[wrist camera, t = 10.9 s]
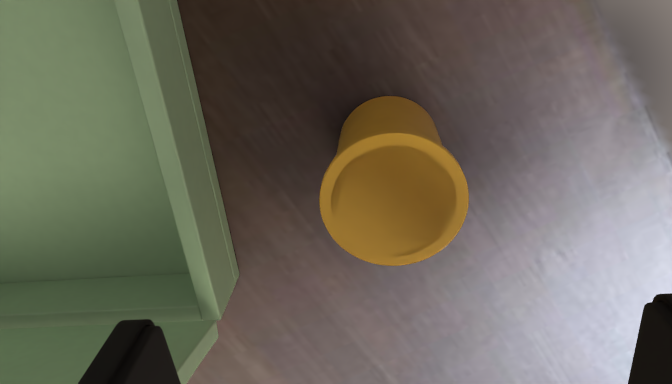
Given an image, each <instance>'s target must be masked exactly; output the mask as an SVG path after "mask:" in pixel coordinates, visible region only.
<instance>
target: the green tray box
mask: <svg viewBox="0 0 672 384" xmlns="http://www.w3.org/2000/svg"><path fill="white" fill-rule="evenodd" d="M238 277H239V270H238V266H237V261H236V257H235V253H234V248H233V244H232V240H231V235H230V231H229V226H228V222H227V218H226V213H225V209H224V205H223V200H222V196H221V191H220V187H219V183H218V178H217V174H216V170H215V165H214V161H213V156H212V152H211V148H210V143H209V139H208V135H207V130H206V126H205V121H204V117H203V113H202V108H201V104H200V100H199V95H198V91H197V86H196V82H195V78H194V73H193V69H192V65H191V60H190V56H189V51H188V47H187V43H186V38H185V34H184V30H183V25H182V21H181V16H180V12H179V8H178V3H177V0H0V329H14V328H38V327H61V326H85V325H108V324H118V323H119V322H120V321H122V320H139V319H150V320H151V321H152V322H153V323H155V322H179V321H202V320H220V319H221V318H222V315H223V313H224V310H225V308H226V306H227V303H228V301H229V298H230V296H231V294H232V291H233V289H234V286H235V284H236V282H237V279H238Z"/></svg>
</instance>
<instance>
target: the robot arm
mask: <svg viewBox="0 0 672 384" xmlns="http://www.w3.org/2000/svg"><path fill="white" fill-rule="evenodd" d="M78 384H181V383H180V380H179V377H178V374H177V371H176V368H175V365H174V362H173V359H172V356H171V353H170V351H169V348H168V345H167V342H166V339H165V336H164V333H163V330H162V328H161V327H160V326H155V325H154V323H153V322H152V321H151V320H150V319H139V320H122V321H120V322H119V323H118V324H117V325H116V326H115V328H114V329H113V331H112V332H111V334H110V335H109V337H108V338H107V340H106V341H105V343H104V344H103V346H102V347H101V349H100V350H99V352H98V353H97V355H96V356H95V358H94V360H93V361H92V363H91V364H90V366H89V367H88V369H87V370H86V372H85V373H84V375H83V376H82V378H81V379H80V381H79V382H78ZM628 384H672V294H659V295H656V296H655V297H654V299H653V302H652V303H647V304H646V305H645V306H644V310H643V314H642V319H641V324H640V329H639V334H638V338H637V343H636V348H635V353H634V357H633V362H632V367H631V372H630V377H629V381H628Z"/></svg>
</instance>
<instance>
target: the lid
mask: <svg viewBox="0 0 672 384" xmlns="http://www.w3.org/2000/svg"><path fill="white" fill-rule="evenodd" d="M116 325H117V324H108V325H85V326H61V327H38V328H14V329H0V384H78V382H79V381H80V379H81V378H82V376H83V375H84V373H85V372H86V370H87V369H88V367H89V366H90V364H91V363H92V361H93V360H94V358H95V356H96V355H97V353H98V352H99V350H100V349H101V347H102V346H103V344H104V343H105V341H106V340H107V338H108V337H109V335H110V334H111V332H112V331H113V329H114V328H115V326H116ZM154 325H155V326H160V327H161V328H162V330H163V333H164V336H165V339H166V342H167V345H168V348H169V351H170V353H171V356H172V359H173V362H174V365H175V368H176V371H177V374H178V377H179V380H180V383H181V384H186V383H187V382H188V380H189V379H190V377H191V376H192V375H193V373H194V372H195V370H196V369H197V367H198V366H199V364H200V363H201V362H202V360H203V359H204V357H205V356H206V354H207V353H208V351H209V350H210V349H211V347H212V346H213V344H214V343H215V341H216V340H217V338H218V331H217V324H216V320H202V321H179V322H155V323H154Z"/></svg>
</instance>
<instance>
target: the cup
mask: <svg viewBox="0 0 672 384" xmlns="http://www.w3.org/2000/svg"><path fill="white" fill-rule="evenodd" d="M468 203H469V192H468V186H467V181H466V179H465V176H464V173H463V171H462V169H461V167H460V165H459V163H458V162H457V160H456V159H455V158H454V156H453V155H452V154H451V153H450V152H449V151H448V150H447V149H446V148H445V147H443V145H442V142H441V140H440V137H439V134H438V131H437V129H436V126H435V124H434V122H433V120H432V118H431V117H430V115H429V114H428V113H427V112H426V111H425V110H424V109H423V108H422V107H421V106H420V105H418V104H417V103H415V102H413V101H411V100H409V99H406V98H402V97H397V96H383V97H377V98H374V99H371V100H369V101H366V102H364V103H363V104H361V105H360V106H358V107H357V108H356V109H355V110H354V111H353V112H352V113H351V114H350V115H349V116H348V118H347V119H346V121H345V123H344V124H343V127H342V130H341V133H340V138H339V143H338V149H337V154H336V156H335V158H334V159H333V160H332V161H331V163H330V164H329V166H328V168H327V170H326V172H325V174H324V177H323V180H322V184H321V188H320V196H319V204H320V212H321V216H322V219H323V222H324V225H325V226H326V228H327V230H328V232H329V233H330V235H331V236H332V238H333V239H334V240H335V241H336V242H337V243H338V244H339V245H340V246H341V247H342V248H343V249H344V250H346V251H347V252H349V253H350V254H352V255H353V256H355V257H357V258H359V259H361V260H364V261H367V262H370V263H374V264H378V265H387V266H399V265H407V264H412V263H416V262H419V261H422V260H425V259H427V258H429V257H431V256H433V255H434V254H436V253H438V252H439V251H441V250H442V249H443V248H444V247H446V246H447V245H448V244H449V243H450V242H451V241H452V240H453V239H454V237H455V236H456V235H457V233H458V232H459V230H460V228H461V227H462V225H463V223H464V220H465V218H466V214H467V210H468Z"/></svg>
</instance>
